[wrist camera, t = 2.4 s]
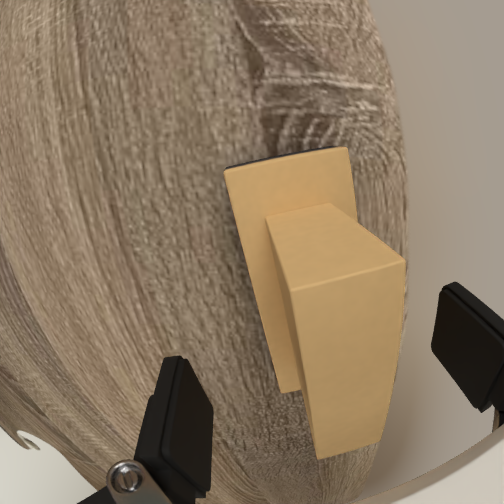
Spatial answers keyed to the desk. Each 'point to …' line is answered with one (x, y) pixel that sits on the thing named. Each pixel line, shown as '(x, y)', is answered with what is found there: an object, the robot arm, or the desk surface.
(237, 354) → the desk surface
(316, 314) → the eraser
